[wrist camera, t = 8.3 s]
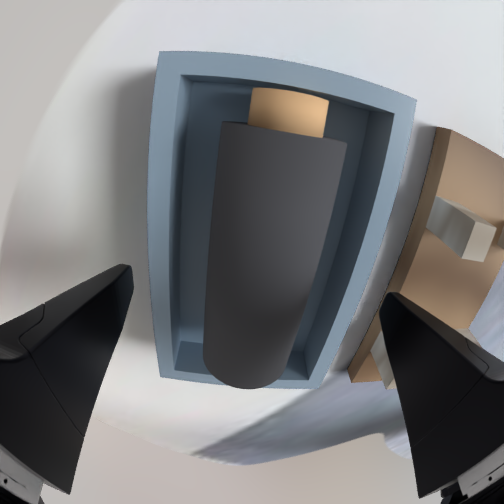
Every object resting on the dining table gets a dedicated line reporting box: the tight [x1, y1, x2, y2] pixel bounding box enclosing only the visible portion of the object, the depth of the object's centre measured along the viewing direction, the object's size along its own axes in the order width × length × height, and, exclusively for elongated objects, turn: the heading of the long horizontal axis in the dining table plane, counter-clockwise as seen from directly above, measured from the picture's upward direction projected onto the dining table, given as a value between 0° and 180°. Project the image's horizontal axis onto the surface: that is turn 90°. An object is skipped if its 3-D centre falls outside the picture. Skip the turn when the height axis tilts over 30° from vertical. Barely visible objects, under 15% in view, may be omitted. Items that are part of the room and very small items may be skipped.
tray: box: [147, 51, 417, 389], centre depth 12 cm, size 15×9×3 cm, turn 172°
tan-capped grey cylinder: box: [203, 88, 347, 389], centre depth 10 cm, size 11×4×4 cm, turn 172°
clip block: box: [347, 127, 504, 389], centre depth 13 cm, size 16×8×4 cm, turn 172°
